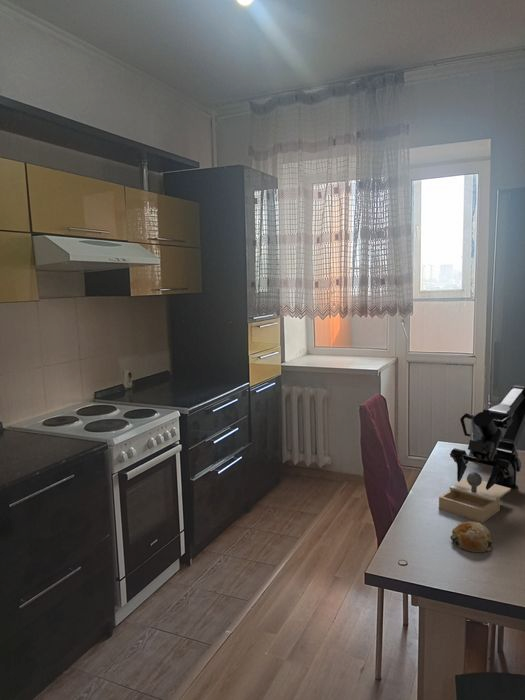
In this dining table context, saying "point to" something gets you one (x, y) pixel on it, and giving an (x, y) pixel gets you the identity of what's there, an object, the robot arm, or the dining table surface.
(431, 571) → the dining table surface
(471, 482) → the lid
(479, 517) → the wooden box
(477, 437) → the moka pot
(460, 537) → the bread roll
